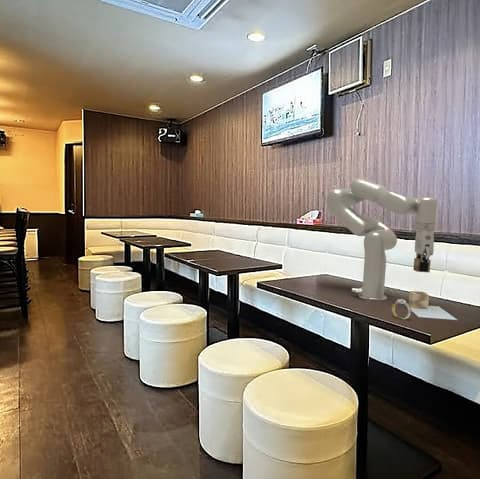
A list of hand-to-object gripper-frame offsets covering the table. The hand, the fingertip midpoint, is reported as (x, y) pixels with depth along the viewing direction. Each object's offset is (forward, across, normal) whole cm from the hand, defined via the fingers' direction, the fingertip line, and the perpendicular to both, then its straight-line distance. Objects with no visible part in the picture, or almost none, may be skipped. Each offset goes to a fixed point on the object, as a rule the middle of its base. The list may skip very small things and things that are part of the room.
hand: (421, 270), depth 165 cm
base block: (+16, 0, 0) cm, 16 cm away
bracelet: (+17, -20, +12) cm, 29 cm away
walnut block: (0, 0, 0) cm, 0 cm away
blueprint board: (+17, -6, -2) cm, 18 cm away
